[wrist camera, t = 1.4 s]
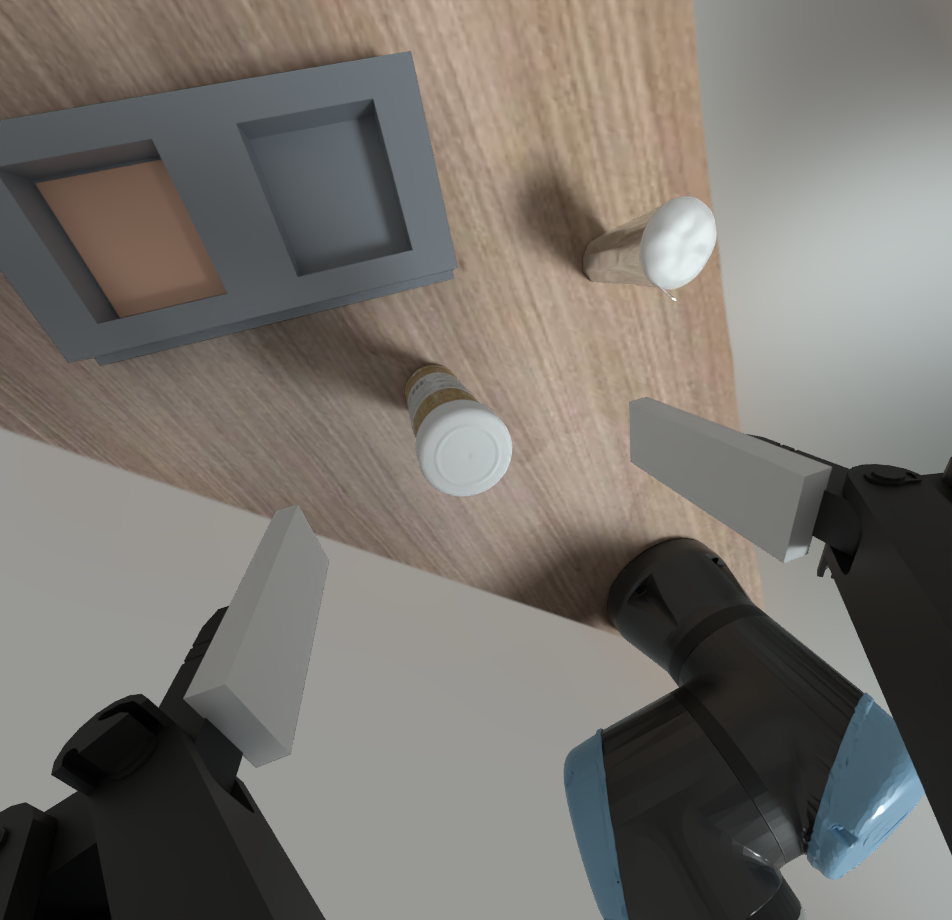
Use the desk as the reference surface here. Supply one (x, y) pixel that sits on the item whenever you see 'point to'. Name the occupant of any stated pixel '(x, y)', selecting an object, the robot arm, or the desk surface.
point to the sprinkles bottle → (455, 434)
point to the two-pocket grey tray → (221, 207)
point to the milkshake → (655, 247)
